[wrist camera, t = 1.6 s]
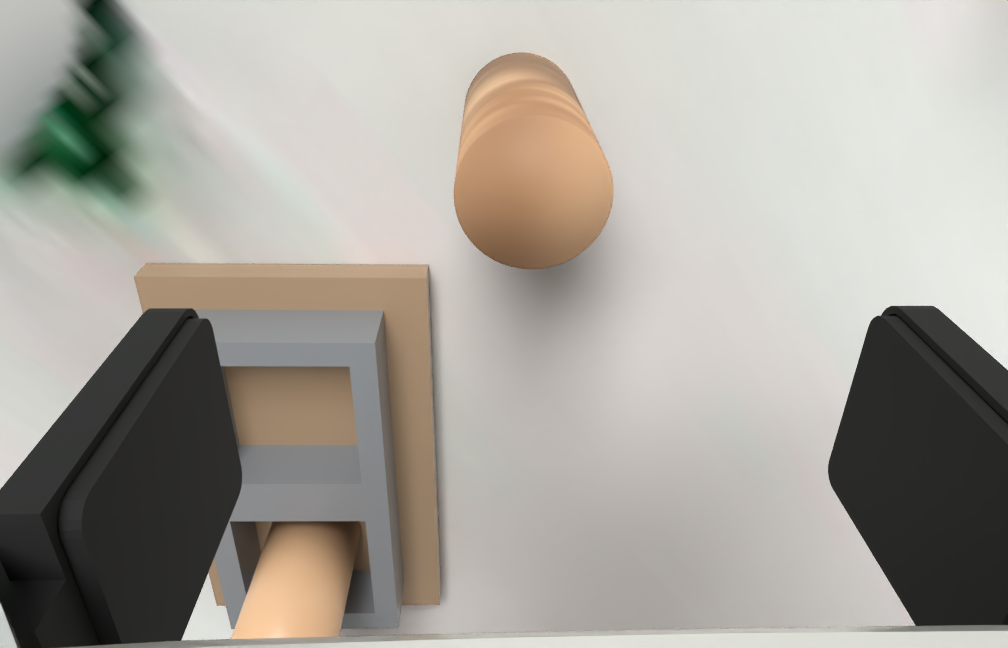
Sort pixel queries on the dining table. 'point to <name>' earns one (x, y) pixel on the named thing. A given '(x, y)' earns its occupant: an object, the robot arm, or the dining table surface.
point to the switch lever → (529, 166)
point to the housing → (320, 440)
